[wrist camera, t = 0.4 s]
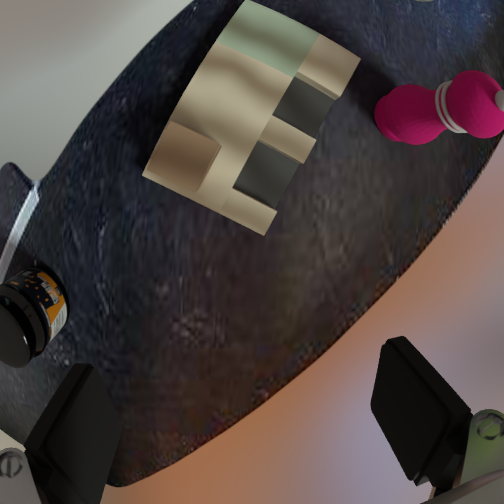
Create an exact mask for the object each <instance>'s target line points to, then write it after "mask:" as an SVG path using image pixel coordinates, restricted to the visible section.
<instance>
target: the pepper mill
mask: <svg viewBox="0 0 504 504" xmlns="http://www.w3.org/2000/svg"><path fill="white" fill-rule="evenodd" d="M374 116H375V122H376V124H377V127H378V128H379V130H380V132H381V133H382V134H383V135H384V136H385V137H387V138H388V139H390V140H393V141H398V142H399V141H403V142H406V143H408V144H413V145H419V144H424V143H427V142H429V141H431V140H433V139H435V138H436V137H437V136H438V135H439V134H440V133H441V132H442V131H443V130H445V129H450V130H451V131H453V132H456V133H469V134H471V135H472V136H475V137H478V138H490V137H493V136H496V135H497V134H499V133H500V132H501V131H502V130H503V129H504V90H502V89H501V87H500V86H499V84H498V83H497V82H496V81H495V80H494V79H493V78H492V77H490V76H489V75H487V74H485V73H484V72H480V71H476V70H469V71H463V72H461V73H459V74H458V75H457V76H456V77H455V78H454V79H453V80H452V81H449V82H444V83H442V84H441V85H440V86H439V87H438V89H437V90H428V89H426V88H424V87H422V86H419V85H413V84H407V85H402V86H398V87H396V88H394V89H393V90H392V91H391V92H390V93H389V94H388V95H385V96H383V97H382V98H381V99H380V100H379V101H378V102H377V104H376V106H375V111H374Z"/></svg>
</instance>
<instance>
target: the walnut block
mask: <svg viewBox="0 0 504 504" xmlns="http://www.w3.org/2000/svg"><path fill="white" fill-rule="evenodd" d="M221 147H222V146H221V145H220V144H219V143H217V142H215V141H213V140H211V139H209V138H207V137H205V136H203V135H201V134H199V133H197V132H194V131H192V130H190V129H188V128H186V127H184V126H181V125H179V124H177V123H175V122H172V121H170V123H169V125H168V127H167V129H166V131H165V133H164V135H163V137H162V139H161V141H160V143H159V145H158V147H157V149H156V151H155V153H154V155H153V157H152V159H151V161H150V163H149V166H148V168H147V170H148V171H150V172H152V173H154V174H156V175H158V176H160V177H162V178H164V179H167V180H169V181H171V182H173V183H175V184H177V185H179V186H181V187H183V188H185V189H187V190H189V191H191V192H193V193H195V192H196V191H197V190H199V189H200V188H201V186H202V184H203V182H204V180H205V178H206V176H207V174H208V172H209V170H210V168H211V166H212V164H213V162H214V160H215V158H216V157H217V155H218V153H219V151H220V149H221Z"/></svg>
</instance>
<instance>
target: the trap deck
mask: <svg viewBox="0 0 504 504" xmlns="http://www.w3.org/2000/svg"><path fill="white" fill-rule="evenodd" d="M360 60H361V59H360V58H359V57H357V56H356V55H354V54H353V53H351V52H350V51H348V50H346V49H345V48H343V47H342V46H340V45H338V44H337V43H335V42H333V41H332V40H330V39H328V38H326V37H325V36H323V35H321V34H319V33H318V32H316V31H314V30H312V29H310V28H308V27H306V26H304V25H303V24H301V23H299V22H297V21H295V20H293V19H291V18H289V17H286V16H284V15H282V14H280V13H278V12H276V11H273V10H271V9H269V8H267V7H264V6H262V5H260V4H257V3H255V2H252V1H250V0H245V1H244V2H243V4H242V5H241V6H240V8H239V9H238V10H237V12H236V13H235V14H234V16H233V17H232V18H231V20H230V21H229V23H228V24H227V26H226V27H225V28H224V30H223V31H222V33H221V34H220V36H219V37H218V39H217V40H216V42H215V43H214V45H213V46H212V48H211V49H210V51H209V52H208V54H207V55H206V57H205V58H204V60H203V62H202V63H201V65H200V66H199V68H198V70H197V71H196V73H195V75H194V76H193V78H192V80H191V81H190V83H189V85H188V86H187V88H186V90H185V92H184V93H183V95H182V97H181V99H180V100H179V102H178V104H177V106H176V108H175V110H174V111H173V113H172V115H171V117H170V119H169V121H168V123H167V125H166V126H165V128H164V130H163V132H162V134H161V136H160V138H159V140H158V142H157V144H156V146H155V148H154V150H153V153H152V155H151V157H150V159H149V161H148V163H147V165H146V167H145V170H144V172H143V174H142V176H144V177H146V178H149V179H151V180H153V181H155V182H157V183H159V184H161V185H163V186H165V187H167V188H169V189H171V190H173V191H175V192H177V193H179V194H181V195H184V196H186V197H188V198H190V199H192V200H194V201H196V202H198V203H200V204H202V205H204V206H206V207H208V208H210V209H212V210H214V211H216V212H218V213H220V214H222V215H224V216H226V217H228V218H230V219H232V220H234V221H236V222H238V223H240V224H242V225H244V226H246V227H248V228H250V229H252V230H254V231H256V232H258V233H260V234H262V235H265V233H266V231H267V229H268V227H269V226H270V224H271V222H272V220H273V218H274V217H275V215H276V213H277V211H276V210H275V208H276V206H277V204H278V202H279V200H280V199H281V197H282V195H283V193H284V191H285V189H286V188H287V186H288V184H289V182H290V180H291V178H292V177H293V175H294V173H295V171H296V169H297V168H298V166H299V164H300V163H301V164H304V162H305V160H306V158H307V157H308V155H309V153H310V151H311V149H312V147H313V146H314V144H315V142H316V140H315V139H314V137H315V135H316V133H317V131H318V129H319V128H320V126H321V124H322V122H323V120H324V118H325V117H326V115H327V113H328V111H329V109H330V107H331V106H332V104H333V102H334V100H335V99H337V98H339V97H340V96H341V94H342V93H343V91H344V89H345V87H346V85H347V83H348V82H349V80H350V78H351V76H352V74H353V72H354V71H355V69H356V67H357V65H358V63H359V61H360ZM170 121H172V122H175V123H177V124H179V125H181V126H184V127H186V128H188V129H190V130H192V131H194V132H197V133H199V134H201V135H203V136H205V137H207V138H209V139H211V140H213V141H215V142H217V143H219V144H220V145H221V146H222V147H221V149H220V151H219V153H218V155H217V157H216V158H215V160H214V162H213V164H212V166H211V168H210V170H209V172H208V174H207V176H206V178H205V180H204V182H203V184H202V186H201V188H200V189H199V190H197V191H196V192H195V193H193V192H191V191H189V190H187V189H185V188H183V187H181V186H179V185H177V184H175V183H173V182H171V181H169V180H167V179H164V178H162V177H160V176H158V175H156V174H154V173H152V172H150V171H148V170H147V168H148V166H149V163H150V161H151V159H152V157H153V155H154V153H155V151H156V149H157V147H158V145H159V143H160V141H161V139H162V137H163V135H164V133H165V131H166V129H167V127H168V125H169V123H170Z"/></svg>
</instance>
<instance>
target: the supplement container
mask: <svg viewBox="0 0 504 504" xmlns="http://www.w3.org/2000/svg"><path fill="white" fill-rule="evenodd" d="M69 314H70V304H69V299H68V295H67V293H66V291H65V288H64V287H63V285H62V283H61V282H60V281H59V279H58V278H57V277H56V276H55V275H54V274H53V273H51V272H50V271H48V270H47V269H45V268H43V267H39V266H30V267H27V268H25V269H23V270H22V271H21V272H20V273H18V274H17V275H15V276H14V277H12V278H11V279H9V280H8V281H6V282H5V283H3V284H1V285H0V360H1V361H2V362H3V363H5V364H7V365H9V366H11V367H14V368H22V367H25V366H26V365H27V364H28V363H29V362H30V360H31V359H32V358H33V357H37V356H39V355H40V354H41V353H42V352H43V351H44V349H45V348H46V346H47V345H48V343H49V342H50V341H51V340H52V339H53V338H54V336H55V335H56V334H57V333H58V332H59V331H60V330H61V329H62V328H63V327H64V326H65V325H66V323H67V321H68V318H69Z"/></svg>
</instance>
